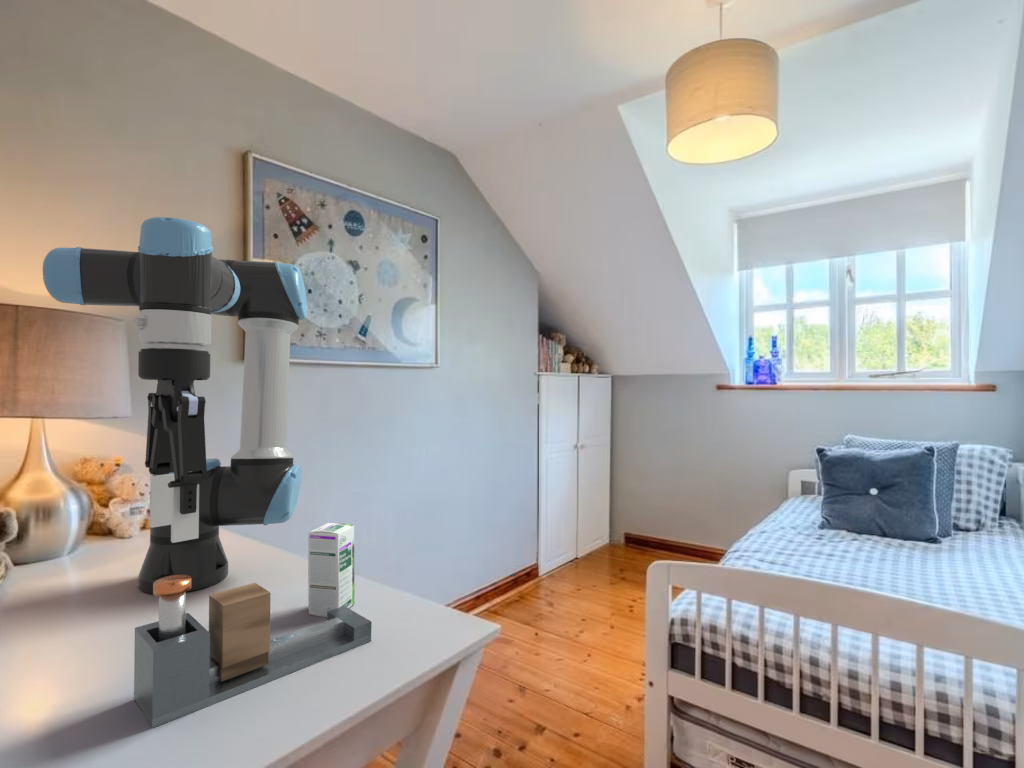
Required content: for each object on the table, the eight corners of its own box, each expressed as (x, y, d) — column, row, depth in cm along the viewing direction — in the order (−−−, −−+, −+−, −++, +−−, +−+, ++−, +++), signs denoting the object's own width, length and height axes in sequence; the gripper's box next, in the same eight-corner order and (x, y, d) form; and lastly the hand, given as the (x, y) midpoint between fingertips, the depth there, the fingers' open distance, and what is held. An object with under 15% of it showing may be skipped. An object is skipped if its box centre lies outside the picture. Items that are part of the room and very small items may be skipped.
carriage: (208, 668, 72) (209, 594, 72) (254, 651, 77) (255, 582, 77) (222, 682, 69) (223, 605, 69) (269, 665, 73) (270, 592, 73)
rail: (134, 699, 68) (134, 627, 67) (343, 624, 89) (344, 569, 89) (152, 728, 62) (153, 650, 62) (371, 640, 83) (372, 582, 83)
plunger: (148, 662, 67) (149, 580, 67) (184, 650, 70) (185, 572, 70) (157, 675, 64) (158, 589, 64) (195, 662, 67) (196, 580, 67)
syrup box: (338, 618, 91) (339, 532, 91) (306, 615, 92) (307, 530, 92) (354, 604, 96) (356, 523, 96) (324, 601, 98) (325, 521, 97)
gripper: (118, 348, 71) (116, 521, 71) (166, 344, 57) (163, 559, 57) (182, 351, 76) (180, 511, 77) (240, 347, 62) (238, 544, 63)
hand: (173, 532), depth 67 cm, fingers open, 8 cm apart
